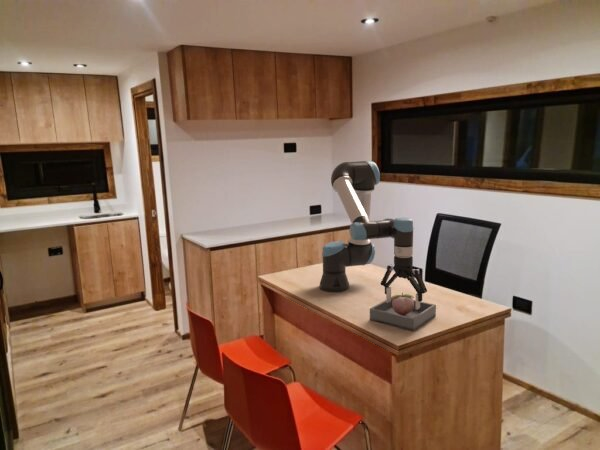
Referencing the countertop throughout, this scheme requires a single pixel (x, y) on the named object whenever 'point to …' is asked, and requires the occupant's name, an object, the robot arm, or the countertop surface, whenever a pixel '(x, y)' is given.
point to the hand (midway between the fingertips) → (403, 305)
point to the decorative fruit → (403, 304)
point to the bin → (408, 321)
